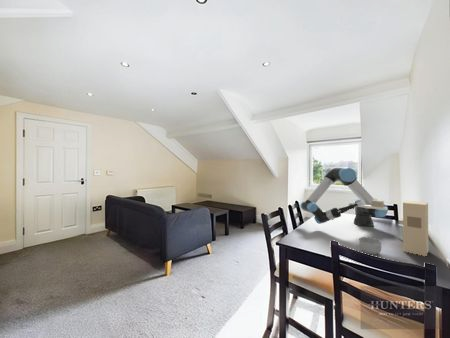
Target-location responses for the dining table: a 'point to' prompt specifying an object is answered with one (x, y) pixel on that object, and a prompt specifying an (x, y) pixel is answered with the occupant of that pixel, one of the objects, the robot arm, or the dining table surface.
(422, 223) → the carton
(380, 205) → the flap strip
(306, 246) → the dining table surface
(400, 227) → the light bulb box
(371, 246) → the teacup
